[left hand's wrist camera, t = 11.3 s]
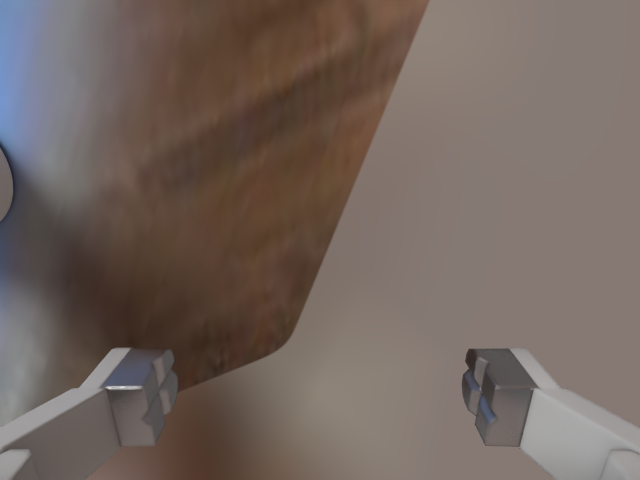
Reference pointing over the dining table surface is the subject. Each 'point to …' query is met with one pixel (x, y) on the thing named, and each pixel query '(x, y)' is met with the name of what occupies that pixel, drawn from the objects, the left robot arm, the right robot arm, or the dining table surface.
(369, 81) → the dining table surface
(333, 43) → the dining table surface
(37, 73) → the dining table surface
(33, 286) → the dining table surface
